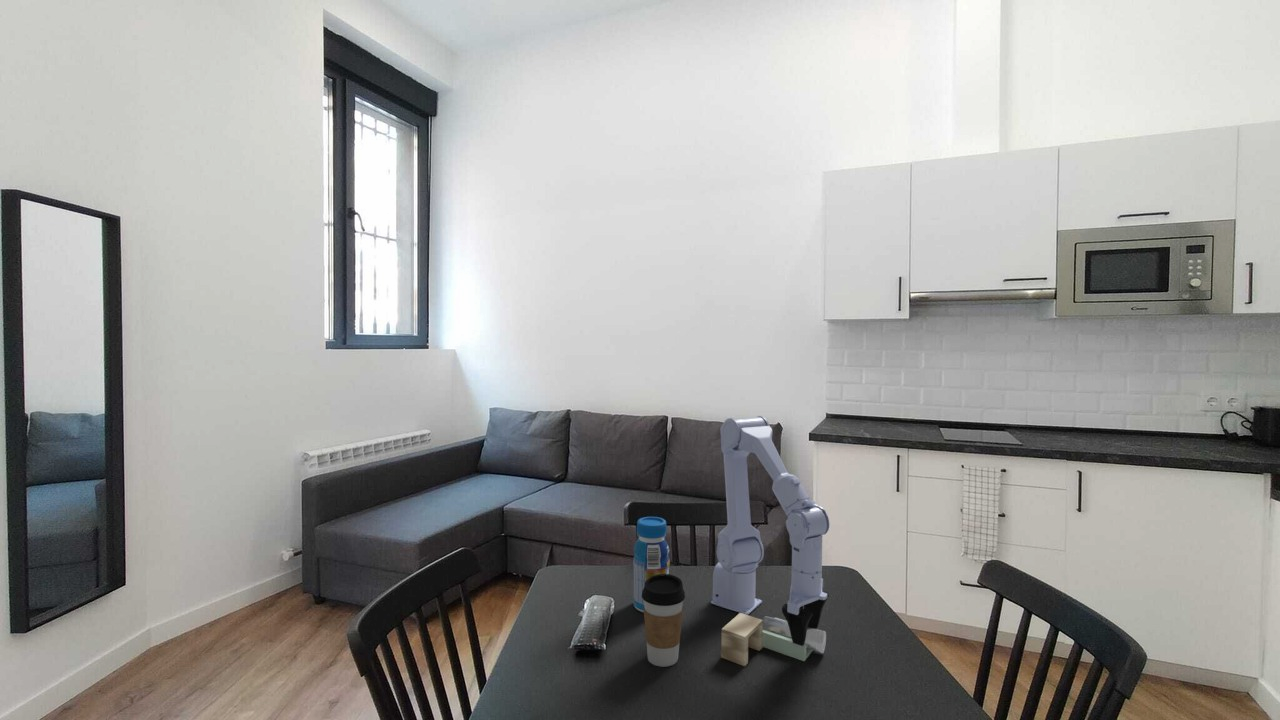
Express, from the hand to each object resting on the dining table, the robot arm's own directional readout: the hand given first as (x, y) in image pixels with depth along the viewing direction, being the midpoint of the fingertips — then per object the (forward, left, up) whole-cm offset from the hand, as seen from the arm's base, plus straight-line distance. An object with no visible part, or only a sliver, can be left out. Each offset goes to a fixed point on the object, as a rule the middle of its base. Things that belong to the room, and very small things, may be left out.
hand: (805, 635), depth 114 cm
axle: (-2, -1, -2) cm, 3 cm away
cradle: (-3, 0, -3) cm, 5 cm away
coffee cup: (-21, -19, -3) cm, 29 cm away
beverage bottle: (-35, -3, -3) cm, 36 cm away
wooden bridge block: (-10, -8, -3) cm, 13 cm away
